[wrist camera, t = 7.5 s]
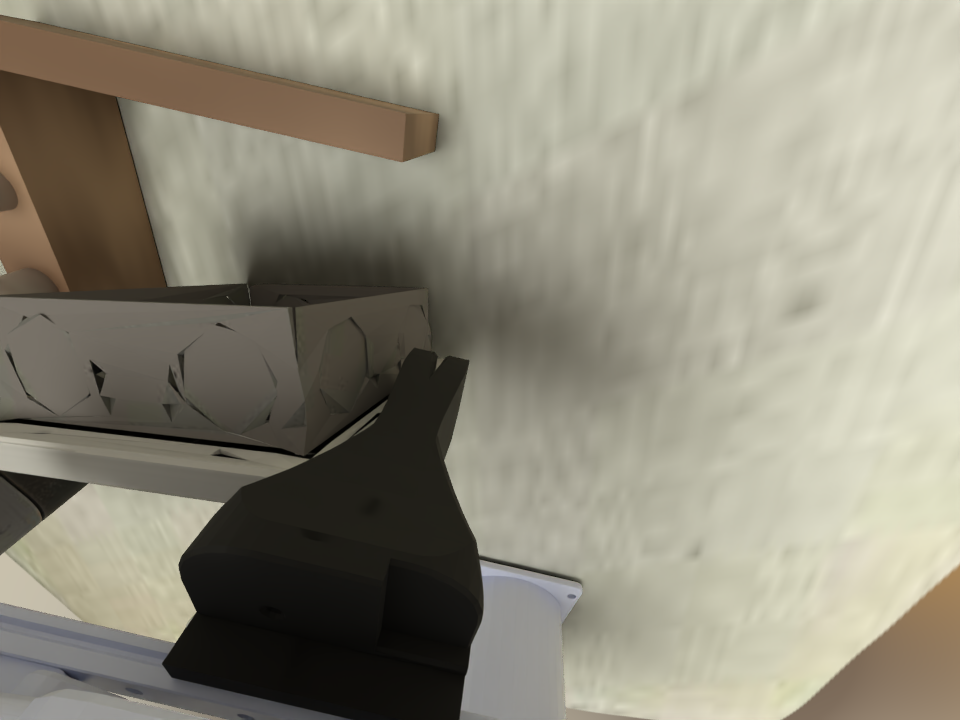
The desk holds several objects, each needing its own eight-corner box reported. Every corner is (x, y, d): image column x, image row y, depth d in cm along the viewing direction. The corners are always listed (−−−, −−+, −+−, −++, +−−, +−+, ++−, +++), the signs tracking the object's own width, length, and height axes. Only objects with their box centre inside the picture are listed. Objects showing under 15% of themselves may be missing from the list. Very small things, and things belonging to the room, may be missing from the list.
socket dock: (401, 442, 19) (359, 545, 15) (156, 386, 19) (36, 471, 15) (439, 114, 12) (374, 112, 7) (34, 21, 12) (-297, -42, 7)
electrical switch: (258, 362, 18) (-11, 520, 9) (226, 245, 16) (-160, 313, 7) (458, 376, 16) (347, 583, 8) (452, 246, 14) (289, 338, 6)
